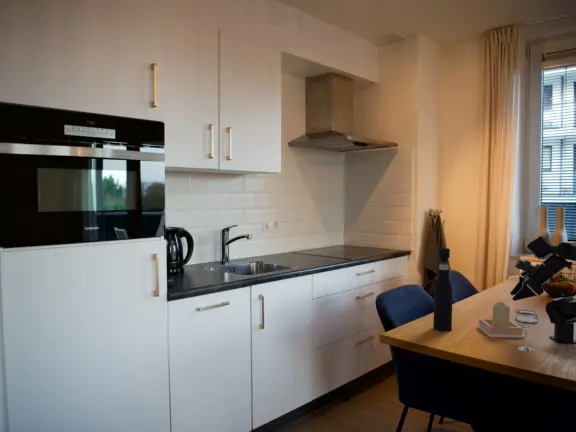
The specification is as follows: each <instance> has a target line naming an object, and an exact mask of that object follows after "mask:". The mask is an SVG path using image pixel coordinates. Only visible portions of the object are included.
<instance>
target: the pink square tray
mask: <svg viewBox="0 0 576 432" xmlns="http://www.w3.org/2000/svg"><path fill="white" fill-rule="evenodd" d="M478 320H479V321H478V324H477V326H476V327H477V328H478V329H479V330H480V331H482V332H483V333H484V334H485V335H487V336H488V337H491V338H519V339H520V338H521V339H525V334H524V333H523V331H524V329H523V327H521V326H519V325H518V324H517V323H516V322H514V321H513V320H511V319H510V318H509V327H499V326H492V320H493V318H479V319H478Z"/></svg>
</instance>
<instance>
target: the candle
mask: <svg viewBox="0 0 576 432" xmlns="http://www.w3.org/2000/svg"><path fill="white" fill-rule="evenodd" d="M510 310H511V309H510V306H509V305H508V304H507V303H505V302H503V301H497V302H495V303H494V304H493V305H492V319H493V320H492V326H499V327H509V319H510Z"/></svg>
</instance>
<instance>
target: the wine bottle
mask: <svg viewBox="0 0 576 432" xmlns="http://www.w3.org/2000/svg"><path fill="white" fill-rule="evenodd" d="M450 253H451V249H450V248H448V247H445V248H444V247H441V248H438V258H440V261H439V265H438V266H439V267H438V273H437V274H438V275H437V279H436V281H435V285H434V289H433V329H434V330H435V331H437V330H438V332H443V331H448V332H451V331H452V329H453V328H452V326H453V295H454V294H453V286H452V281H451V278H450V269H449V264H448V261H449V260H448V259H450V256H451V255H450Z"/></svg>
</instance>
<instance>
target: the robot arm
mask: <svg viewBox="0 0 576 432" xmlns="http://www.w3.org/2000/svg"><path fill="white" fill-rule="evenodd" d="M526 249H527V250H529V251H530V253H531V254H532V255H533V256H535V258H537V259H538V260H543V262H541V263H537V264H535V265H533V264H532V263H531V261H529V260H527V259H526V260H523V259H521V258H518V259H517V262H516V263H515V265H514V267H515V268H516V269H518V270H521V272H520V273H519V275H518V282H517V283H516V284H515V286H514V287H513V289H511V291H510V293H509V294H510V295H511V296H512V298H511V299H512V300H513V301H514V302H516V301H520V300H524V299H528V298H532V297H539V296H541V295H542V294H544V292H545V289H544V284H546V283H547V282H548V281H552V280H553V279H554V277H556V275H558V274H559V273H561V271H563V270H564V269H566V268H567V269H568V270H569V271H570V272H573V265H574V262H576V241H562V242H559V244H558V245H553V244H552V243H551V242H550V241H549V240H547V238H546V237H545V236H544V235H539V236H538V237H537V238H536V239H533V240H532V241H530V242H529V243H528V244H527V246H526ZM545 313H546V314H547V315H548V319H549V321H550V323H551V324H553V325H554V326H553V335H549V338H550V339H552V340H553V341H554V342H556V343H559V344H576V340H575V339H574V337H575V336H574V335H575V323H576V299H575V300H573V296H572V295H571V296H568V297H567V296H565V297H558V298H552V299H551V300H550V301H549V302H547V303H546V305H545Z"/></svg>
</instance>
